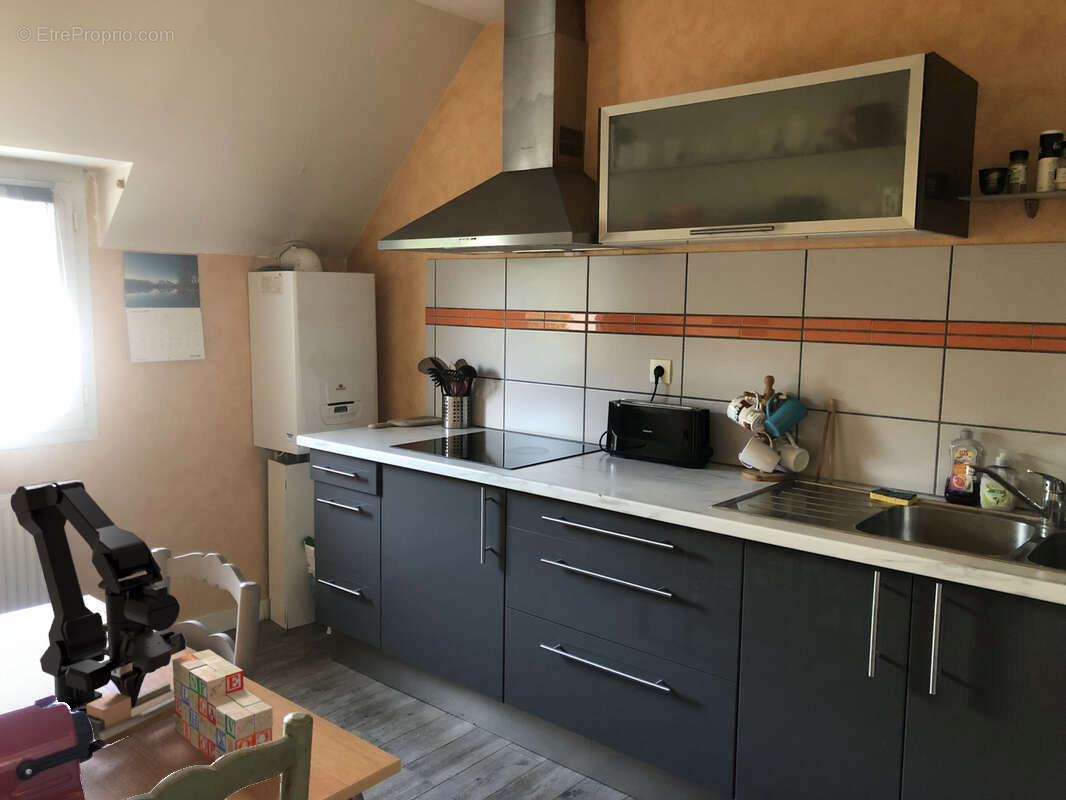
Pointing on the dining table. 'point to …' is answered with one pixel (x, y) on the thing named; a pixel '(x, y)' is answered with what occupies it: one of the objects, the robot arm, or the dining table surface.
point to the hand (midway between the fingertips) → (131, 707)
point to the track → (138, 715)
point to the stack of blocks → (217, 706)
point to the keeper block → (111, 709)
